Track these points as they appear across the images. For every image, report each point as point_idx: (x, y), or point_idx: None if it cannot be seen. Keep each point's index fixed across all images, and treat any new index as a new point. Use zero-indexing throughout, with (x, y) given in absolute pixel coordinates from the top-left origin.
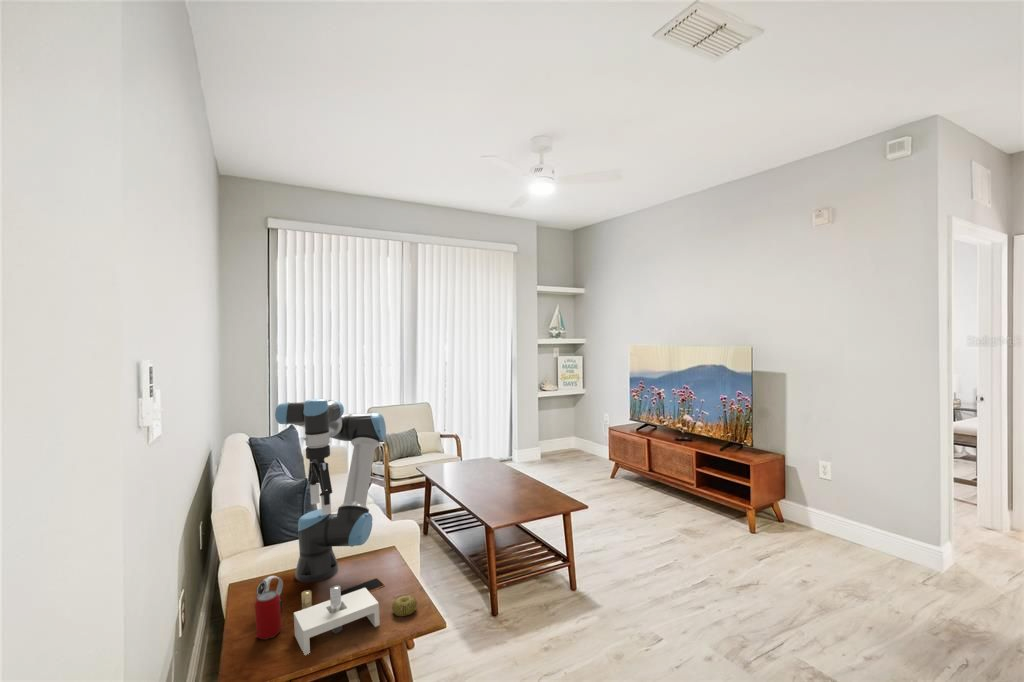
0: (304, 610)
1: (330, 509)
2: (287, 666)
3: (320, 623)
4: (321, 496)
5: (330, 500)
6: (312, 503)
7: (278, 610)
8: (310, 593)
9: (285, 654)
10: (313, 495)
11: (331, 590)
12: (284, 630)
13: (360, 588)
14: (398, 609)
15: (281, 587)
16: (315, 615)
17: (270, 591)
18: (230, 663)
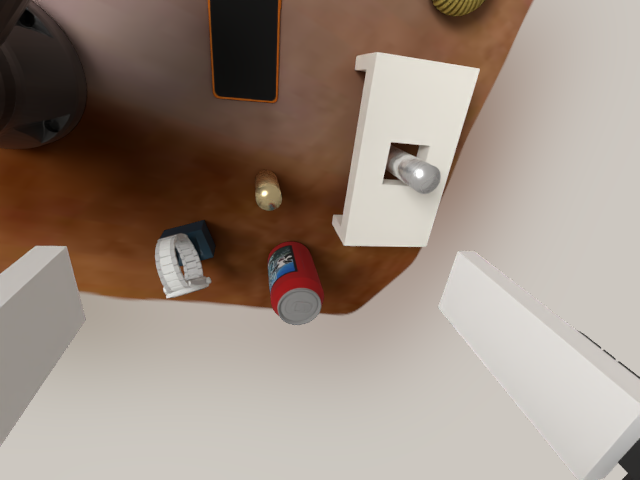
0: (354, 225)
1: (498, 273)
2: (406, 252)
3: (431, 214)
4: (584, 462)
5: (572, 327)
6: (77, 318)
7: (313, 269)
8: (278, 189)
9: (374, 248)
10: (20, 380)
11: (429, 192)
12: (297, 234)
13: (241, 6)
14: (476, 7)
15: (180, 238)
16: (394, 213)
17: (282, 299)
18: (327, 313)
